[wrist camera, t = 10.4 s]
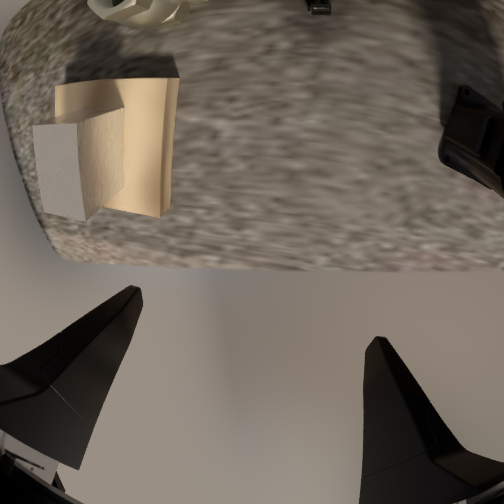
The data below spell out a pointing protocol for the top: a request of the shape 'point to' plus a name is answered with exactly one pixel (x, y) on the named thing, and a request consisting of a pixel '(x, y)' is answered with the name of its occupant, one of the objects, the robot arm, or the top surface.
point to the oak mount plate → (134, 134)
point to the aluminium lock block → (80, 160)
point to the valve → (165, 11)
